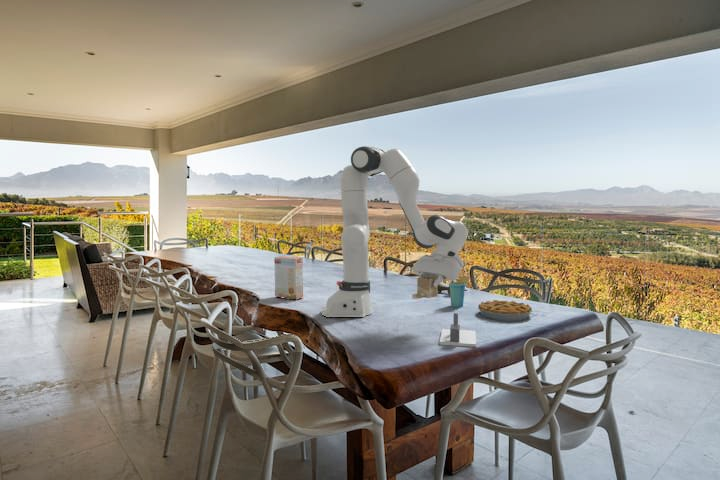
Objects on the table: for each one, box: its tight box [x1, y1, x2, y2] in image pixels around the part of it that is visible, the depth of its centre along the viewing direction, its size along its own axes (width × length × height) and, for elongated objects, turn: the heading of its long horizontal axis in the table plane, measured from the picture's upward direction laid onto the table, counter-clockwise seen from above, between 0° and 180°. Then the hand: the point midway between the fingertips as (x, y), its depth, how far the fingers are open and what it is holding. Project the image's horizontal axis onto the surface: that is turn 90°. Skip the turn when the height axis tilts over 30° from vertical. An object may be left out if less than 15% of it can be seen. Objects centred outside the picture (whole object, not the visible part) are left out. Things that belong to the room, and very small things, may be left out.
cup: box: [448, 274, 469, 308], centre depth 209 cm, size 14×8×15 cm, turn 127°
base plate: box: [439, 328, 477, 348], centre depth 160 cm, size 16×12×1 cm
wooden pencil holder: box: [411, 276, 439, 300], centre depth 171 cm, size 10×5×7 cm, turn 132°
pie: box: [477, 299, 533, 322], centre depth 193 cm, size 22×22×5 cm
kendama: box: [438, 283, 468, 296], centre depth 239 cm, size 6×10×20 cm
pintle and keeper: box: [450, 312, 461, 342], centre depth 159 cm, size 12×3×8 cm, turn 167°
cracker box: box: [273, 255, 304, 300], centre depth 229 cm, size 14×6×21 cm, turn 58°
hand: (426, 284), depth 172 cm, fingers closed on wooden pencil holder, 5 cm apart
